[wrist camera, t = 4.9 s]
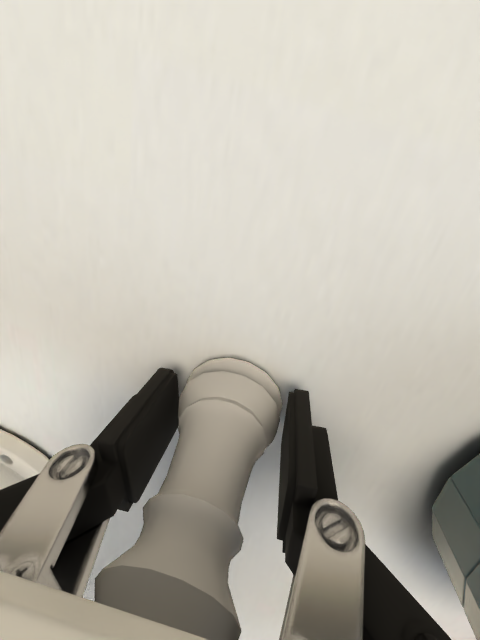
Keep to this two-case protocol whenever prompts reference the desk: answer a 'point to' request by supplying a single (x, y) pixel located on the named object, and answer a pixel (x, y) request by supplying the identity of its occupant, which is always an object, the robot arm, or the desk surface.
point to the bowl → (461, 536)
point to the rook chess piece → (198, 505)
